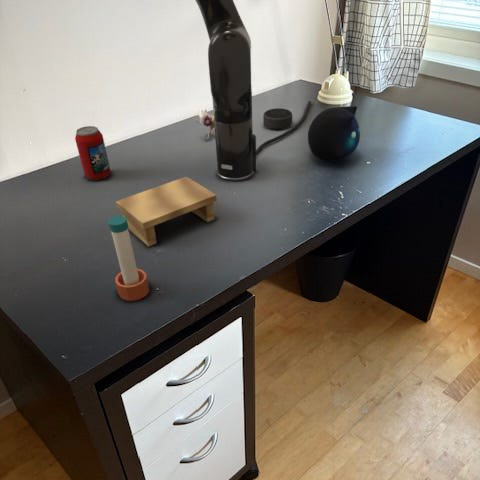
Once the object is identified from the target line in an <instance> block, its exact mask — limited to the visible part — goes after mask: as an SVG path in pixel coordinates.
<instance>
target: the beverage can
mask: <svg viewBox="0 0 480 480" xmlns="http://www.w3.org/2000/svg"><path fill="white" fill-rule="evenodd" d="M74 140H75V142H76V143H75V144H76V148H77V152H78V156H79V159H80V162H81V166H82V171H83V173H84V176H85V177H86V178H87V179H89V180H92V181H101V180H104V179H106V178H107V177H109V175H111V166H110V161H109V157H108V152H107V149H106V148H107V147H106V144H105V139H104V135H103V134H102V132H101V130H100V129H99V127H97V126H95V125H87V126H82V127H79V128H78V129H76V132H75V137H74Z"/></svg>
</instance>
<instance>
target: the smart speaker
mask: <svg viewBox="0 0 480 480" xmlns="http://www.w3.org/2000/svg"><path fill="white" fill-rule="evenodd" d="M262 120H263V121H262V123H263V124H262V125H263V126H264V127H265V128H267V129H269V130H273V131H280V130H281V131H282V130H286V129H288V128H290V127H291V126H292V125H293V113H292V111H290V110H289V109H286V108H281V107H279V108H277V107H276V108H271V109H267V110H266V111H265V112H264V113H263V117H262Z"/></svg>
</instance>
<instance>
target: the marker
mask: <svg viewBox="0 0 480 480" xmlns="http://www.w3.org/2000/svg"><path fill="white" fill-rule="evenodd" d="M107 222H108V227H109V230H110V232H111V233H110V234H111V237H112V240H113V245H114V248H115V252H116V256H117V260H118V264H119V268H120V272H121V273H122V277H123V281H124V284H125V285H126V286H130V285H135V284H137V283H140V280H139V276H138V271H137V269H138V268H137V263H136V258H135V254H134V249H133V245H132V239H131V235H130V230H129V229H128V223H127V219H126V217H124V216H122V215H115V216H112V217H110V218H109V219H108V221H107Z"/></svg>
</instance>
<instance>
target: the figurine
mask: <svg viewBox="0 0 480 480" xmlns="http://www.w3.org/2000/svg"><path fill="white" fill-rule="evenodd" d="M357 109H358V106H355V105H353V106H350V105H349V106H348V105H347V106H335V107H329V108H326V109H323V110H322V111H321V112H319V113H318V114H317V115H316V116H315V117H314V118H313V120H312V121H311V123H310V125H309V128H308V131H307V143H308V148H309V150H310V152H311V153H312V154H313V156H314V157H316V158H317V159H318V160H320V161H323V162H336V161H341V160H344V159H346V158H347V157H349V156H351V155H352V154H353V153H354V152H355V151H356V150H357V148H358V146H359V144H360V140H361V130H360V126H359V122H358V120H357V118H356V113H357Z"/></svg>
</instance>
